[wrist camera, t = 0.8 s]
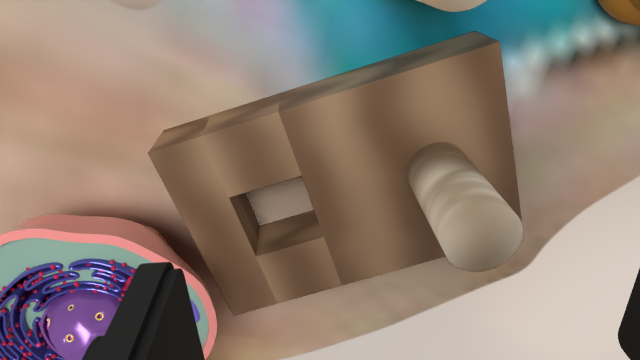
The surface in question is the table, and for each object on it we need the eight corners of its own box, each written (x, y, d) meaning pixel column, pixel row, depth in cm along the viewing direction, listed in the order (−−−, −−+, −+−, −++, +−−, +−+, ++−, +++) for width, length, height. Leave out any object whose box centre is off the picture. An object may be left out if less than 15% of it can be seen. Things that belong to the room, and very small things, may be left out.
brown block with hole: (474, 30, 30) (577, 75, 19) (500, 206, 36) (588, 314, 25) (163, 130, 32) (99, 221, 21) (238, 281, 38) (218, 411, 27)
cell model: (-50, 285, 37) (-180, 412, 26) (102, 120, 31) (11, 200, 21) (126, 386, 43) (75, 520, 33) (277, 262, 37) (273, 377, 27)
